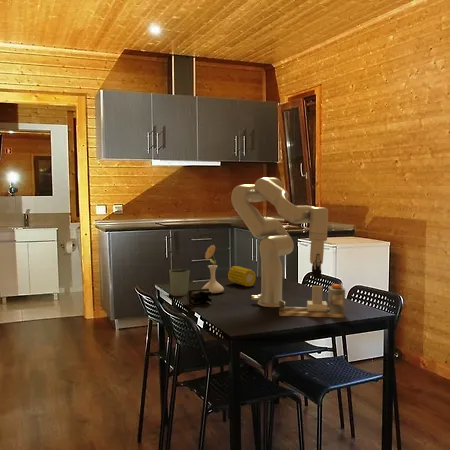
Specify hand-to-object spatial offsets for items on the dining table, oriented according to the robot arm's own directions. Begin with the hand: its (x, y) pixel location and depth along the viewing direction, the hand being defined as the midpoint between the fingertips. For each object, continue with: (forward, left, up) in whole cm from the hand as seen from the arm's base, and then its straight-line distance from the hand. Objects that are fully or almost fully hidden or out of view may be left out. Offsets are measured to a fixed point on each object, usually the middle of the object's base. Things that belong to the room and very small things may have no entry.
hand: (316, 276), depth 218 cm
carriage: (+1, 0, -14) cm, 14 cm away
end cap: (-52, +13, -17) cm, 56 cm away
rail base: (-2, 0, -16) cm, 16 cm away
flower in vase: (-49, +38, -16) cm, 64 cm away
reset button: (+9, 0, -4) cm, 10 cm away
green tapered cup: (-65, +33, -16) cm, 75 cm away
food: (-36, +61, -16) cm, 72 cm away
